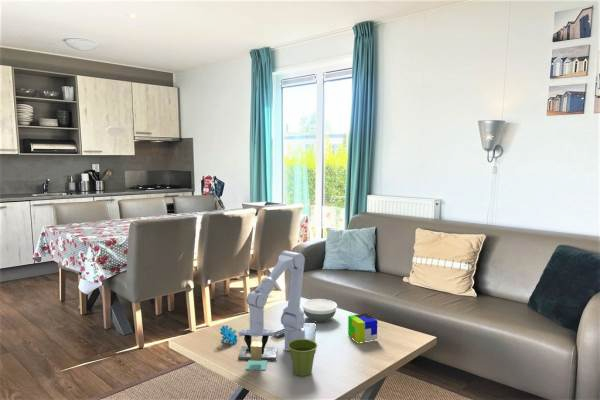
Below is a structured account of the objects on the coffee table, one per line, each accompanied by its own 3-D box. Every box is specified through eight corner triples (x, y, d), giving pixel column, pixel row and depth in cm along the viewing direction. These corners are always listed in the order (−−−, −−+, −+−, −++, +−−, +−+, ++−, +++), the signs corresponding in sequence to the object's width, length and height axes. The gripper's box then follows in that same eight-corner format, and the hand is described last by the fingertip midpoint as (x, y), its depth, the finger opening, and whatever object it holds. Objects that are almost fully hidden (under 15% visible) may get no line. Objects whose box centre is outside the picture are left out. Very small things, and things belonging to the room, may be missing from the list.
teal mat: (267, 360, 176) (267, 360, 176) (265, 370, 168) (265, 369, 168) (248, 360, 176) (248, 359, 176) (245, 370, 168) (245, 369, 168)
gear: (230, 345, 187) (218, 326, 190) (222, 353, 188) (210, 334, 191) (243, 339, 197) (231, 321, 200) (235, 346, 198) (223, 329, 202)
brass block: (262, 355, 174) (262, 341, 174) (261, 360, 170) (261, 346, 169) (252, 355, 174) (252, 341, 174) (250, 360, 170) (250, 346, 169)
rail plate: (277, 349, 186) (277, 346, 186) (275, 360, 176) (275, 357, 176) (242, 349, 187) (242, 346, 186) (238, 359, 177) (238, 356, 177)
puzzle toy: (376, 340, 196) (377, 320, 195) (358, 344, 193) (358, 323, 192) (366, 332, 206) (366, 313, 205) (348, 335, 202) (348, 315, 201)
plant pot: (323, 371, 167) (323, 344, 166) (303, 382, 159) (304, 354, 158) (301, 361, 175) (301, 336, 174) (281, 372, 167) (281, 345, 165)
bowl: (319, 329, 209) (319, 313, 209) (294, 318, 223) (294, 303, 222) (344, 320, 222) (344, 304, 221) (319, 310, 236) (319, 296, 235)
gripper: (237, 324, 166) (237, 356, 168) (273, 324, 166) (273, 357, 167) (240, 317, 173) (240, 349, 175) (274, 318, 173) (274, 349, 174)
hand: (256, 352), depth 171 cm, fingers closed on brass block, 4 cm apart
